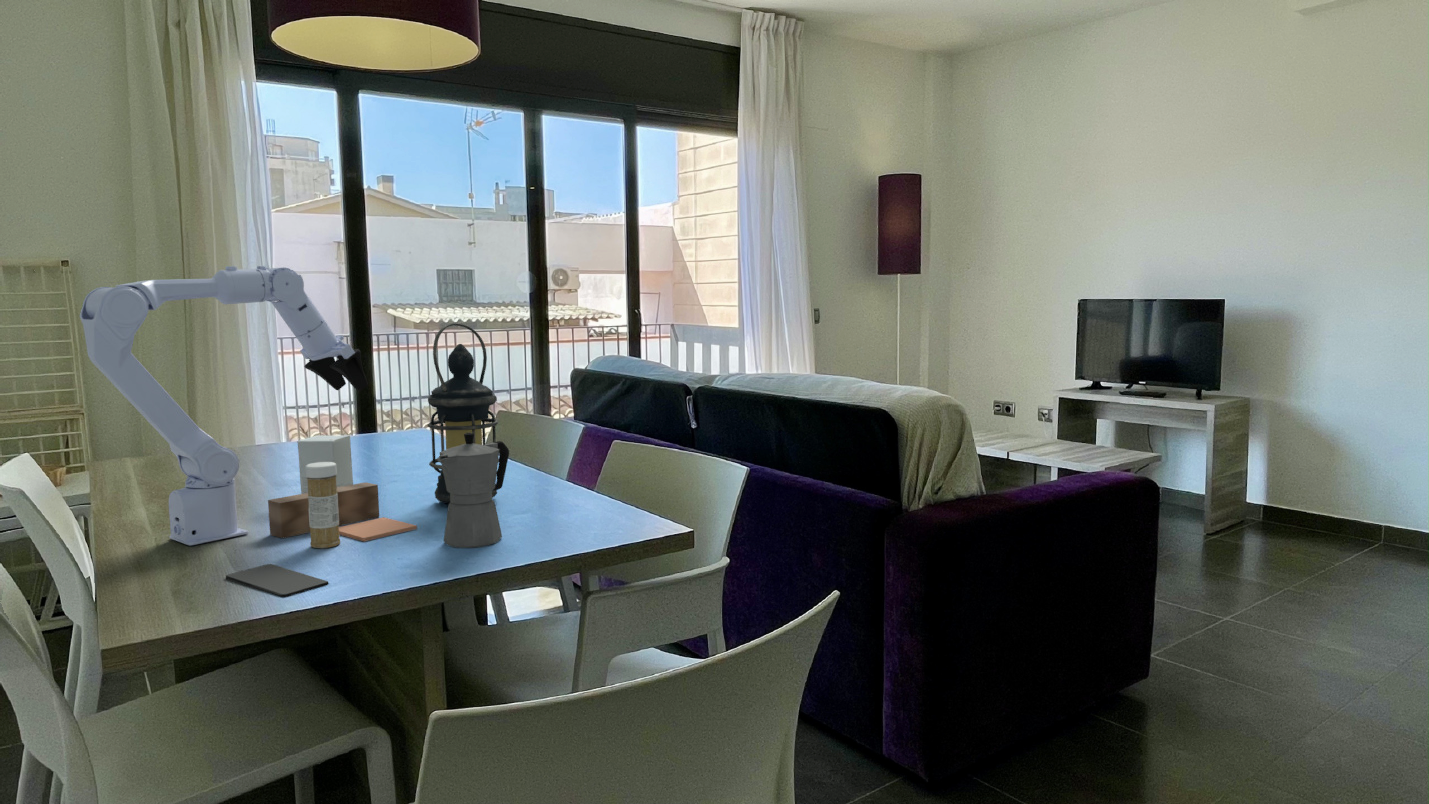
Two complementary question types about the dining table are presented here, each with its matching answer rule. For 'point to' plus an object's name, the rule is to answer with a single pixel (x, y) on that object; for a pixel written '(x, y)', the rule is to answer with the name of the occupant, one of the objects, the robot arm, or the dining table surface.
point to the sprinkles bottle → (323, 504)
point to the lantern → (459, 406)
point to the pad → (375, 529)
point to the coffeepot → (473, 492)
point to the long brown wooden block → (294, 510)
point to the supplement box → (326, 457)
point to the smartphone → (276, 580)
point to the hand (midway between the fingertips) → (352, 387)
